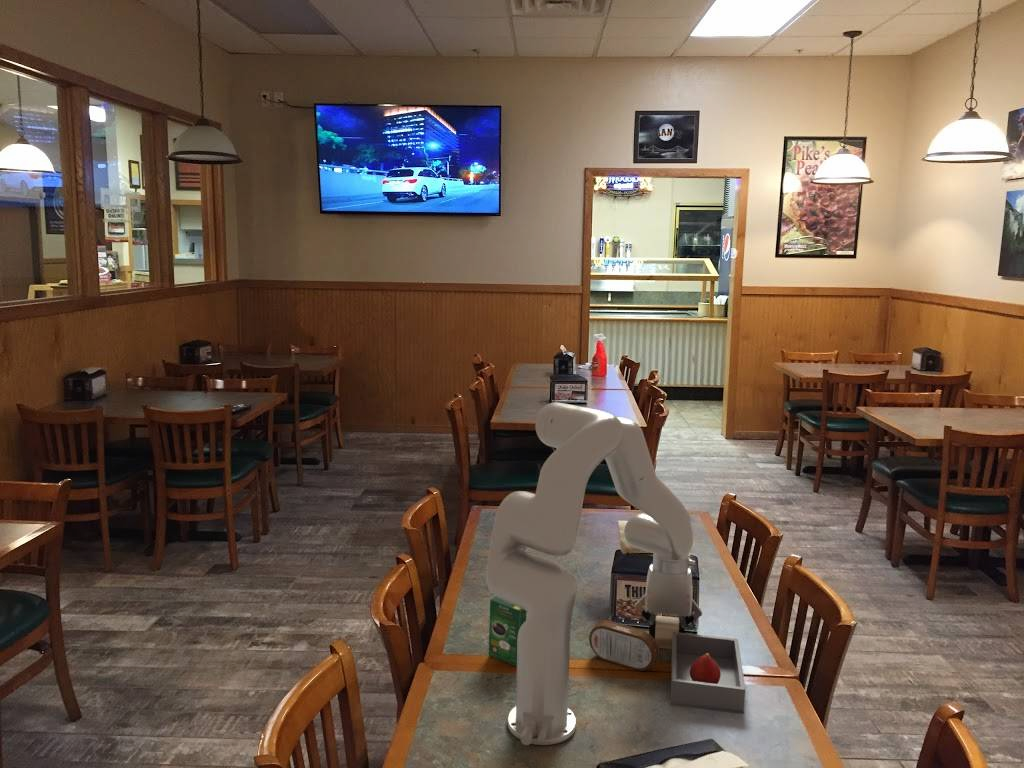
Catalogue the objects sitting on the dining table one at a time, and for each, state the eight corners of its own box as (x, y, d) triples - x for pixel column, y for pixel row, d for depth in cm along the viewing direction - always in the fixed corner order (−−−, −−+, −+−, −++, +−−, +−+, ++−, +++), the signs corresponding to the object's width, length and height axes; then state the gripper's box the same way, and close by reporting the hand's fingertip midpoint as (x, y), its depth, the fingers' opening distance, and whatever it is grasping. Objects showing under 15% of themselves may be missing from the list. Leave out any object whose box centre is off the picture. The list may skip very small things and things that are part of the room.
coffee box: (526, 662, 168) (527, 604, 165) (518, 668, 165) (519, 610, 163) (496, 650, 172) (496, 594, 170) (487, 656, 170) (488, 599, 168)
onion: (683, 689, 157) (685, 652, 156) (699, 678, 161) (701, 642, 160) (709, 702, 153) (711, 664, 152) (724, 690, 157) (727, 653, 156)
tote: (743, 713, 151) (745, 689, 150) (670, 704, 153) (671, 680, 152) (736, 660, 170) (737, 639, 169) (671, 653, 172) (672, 631, 171)
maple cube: (677, 649, 174) (678, 628, 173) (654, 647, 175) (655, 626, 174) (677, 638, 179) (678, 617, 178) (654, 636, 180) (656, 615, 179)
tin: (658, 670, 166) (660, 633, 164) (653, 677, 163) (655, 639, 161) (592, 650, 173) (594, 614, 171) (586, 657, 170) (587, 620, 169)
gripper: (709, 560, 175) (705, 636, 179) (632, 553, 179) (628, 628, 182) (711, 574, 168) (706, 653, 171) (630, 566, 171) (626, 644, 175)
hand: (666, 639), depth 177 cm, fingers closed on maple cube, 5 cm apart
